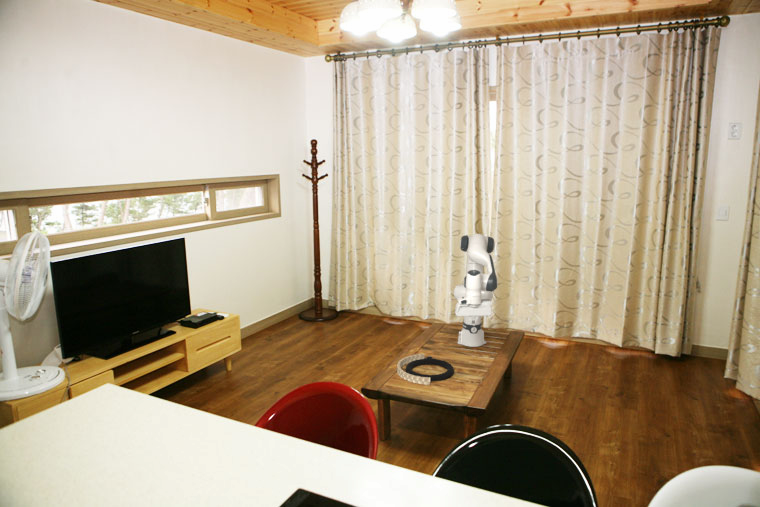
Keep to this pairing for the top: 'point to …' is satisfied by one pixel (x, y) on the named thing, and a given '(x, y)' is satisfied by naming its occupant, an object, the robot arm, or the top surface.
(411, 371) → the cable lock
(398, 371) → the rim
